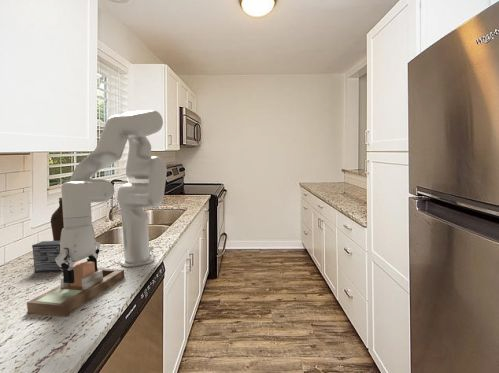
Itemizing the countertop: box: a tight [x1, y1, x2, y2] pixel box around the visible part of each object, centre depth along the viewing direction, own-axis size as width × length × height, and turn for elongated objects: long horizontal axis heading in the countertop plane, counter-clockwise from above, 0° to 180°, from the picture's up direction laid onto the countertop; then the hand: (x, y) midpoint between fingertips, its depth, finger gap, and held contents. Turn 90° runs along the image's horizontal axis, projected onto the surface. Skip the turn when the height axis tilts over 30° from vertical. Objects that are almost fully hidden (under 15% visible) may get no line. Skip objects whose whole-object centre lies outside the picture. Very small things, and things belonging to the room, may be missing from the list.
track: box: [26, 267, 125, 317], centre depth 95 cm, size 26×12×6 cm, turn 168°
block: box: [70, 260, 95, 287], centre depth 95 cm, size 5×5×6 cm
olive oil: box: [50, 196, 64, 241], centre depth 136 cm, size 11×11×25 cm
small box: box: [31, 240, 70, 273], centre depth 117 cm, size 11×6×10 cm, turn 92°
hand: (81, 276), depth 95 cm, fingers open, 9 cm apart
